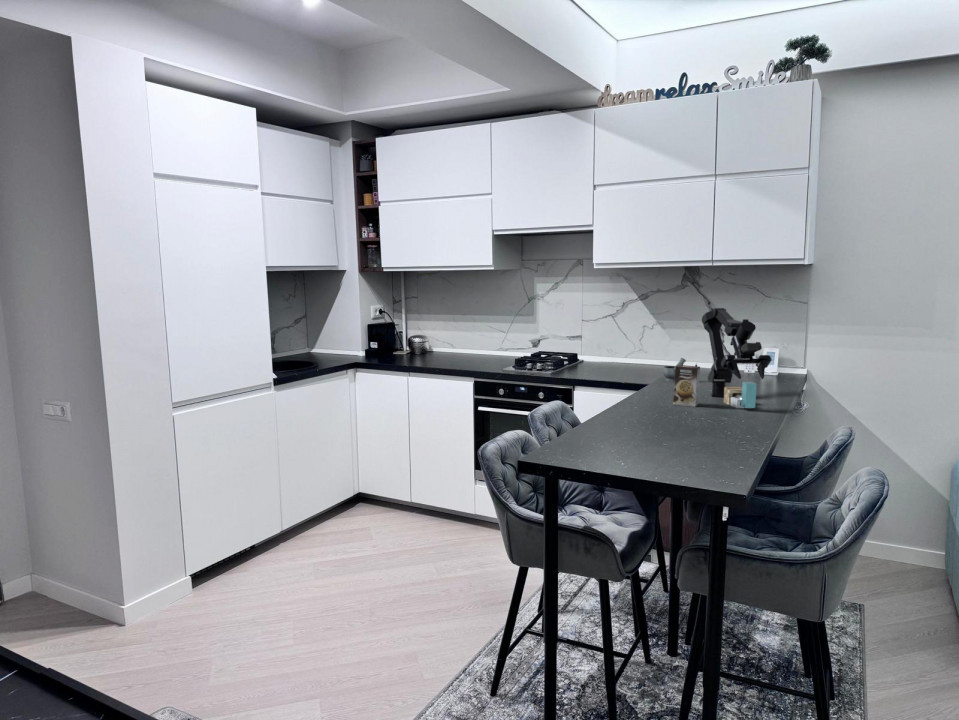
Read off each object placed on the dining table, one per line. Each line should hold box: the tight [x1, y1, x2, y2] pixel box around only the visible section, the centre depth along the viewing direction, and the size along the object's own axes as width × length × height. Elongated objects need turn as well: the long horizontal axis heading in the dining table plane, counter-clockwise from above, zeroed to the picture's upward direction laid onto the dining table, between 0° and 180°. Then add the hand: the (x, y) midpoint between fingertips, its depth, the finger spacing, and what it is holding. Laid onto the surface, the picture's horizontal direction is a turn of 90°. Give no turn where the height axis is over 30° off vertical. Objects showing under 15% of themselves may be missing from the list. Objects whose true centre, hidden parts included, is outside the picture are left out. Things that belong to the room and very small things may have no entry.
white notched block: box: [730, 397, 745, 409], centre depth 273 cm, size 6×6×3 cm
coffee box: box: [672, 364, 701, 408], centre depth 275 cm, size 9×6×16 cm
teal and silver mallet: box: [732, 381, 758, 409], centre depth 271 cm, size 14×4×10 cm, turn 3°
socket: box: [723, 386, 742, 406], centre depth 279 cm, size 5×7×7 cm
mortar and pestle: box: [662, 357, 687, 383], centre depth 334 cm, size 11×9×12 cm
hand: (751, 378), depth 264 cm, fingers open, 9 cm apart
